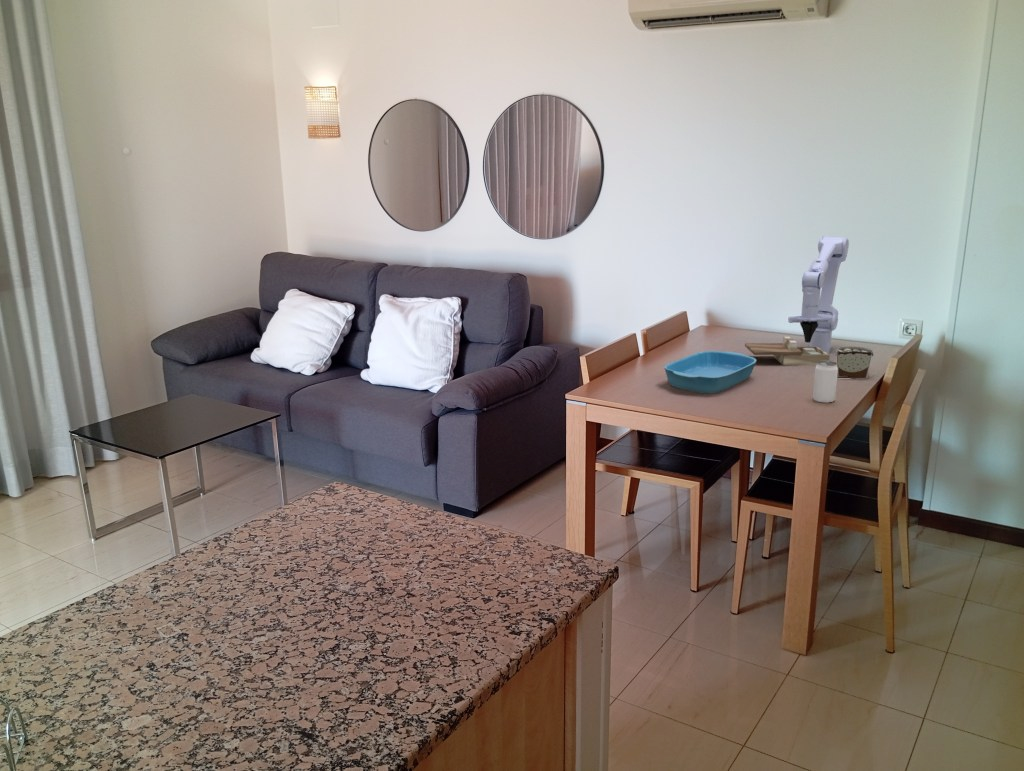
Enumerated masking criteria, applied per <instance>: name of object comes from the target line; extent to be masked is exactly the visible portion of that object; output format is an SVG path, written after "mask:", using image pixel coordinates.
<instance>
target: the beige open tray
mask: <svg viewBox="0 0 1024 771" xmlns="http://www.w3.org/2000/svg"><path fill="white" fill-rule="evenodd" d="M797 348H798V349H799V350H801V351H802V353H803V348H814V349H815V350H816V352H818V353H821V354H817V355H772V356H773V358H774V359H775V360H776V361H777V362H779V363H780V364H781V365H782V366H817V364H818V363H817V362H819V361H830V354H829V353H826V352H824V351H823V350H822V349H820V348H819V347H808V346H797Z"/></svg>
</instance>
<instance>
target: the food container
mask: <svg viewBox="0 0 1024 771" xmlns="http://www.w3.org/2000/svg"><path fill="white" fill-rule="evenodd" d="M834 355H835V357H836V363H837V368H838V373H837V377H838V378H852V380H854V379H853V378H858V379H859V380H867V378H868V374H869V370H870V364H871V361H872V360H871V359H872V357H874V352H873V349H871V348H867V347H861V346H852V345H851V346H848V345H847V346H839V347H837V349H836V351H835V354H834ZM838 378H837V379H838ZM858 379H857V380H858Z"/></svg>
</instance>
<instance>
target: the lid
mask: <svg viewBox="0 0 1024 771" xmlns="http://www.w3.org/2000/svg"><path fill="white" fill-rule="evenodd" d="M782 339H783V341H782V342H778V343H776V342H775V343H774V342H773V343H772V342H765V343H763V342H761V343H756V342H755V343H753V342H752V343H749V342H748V343H744V347H745V348H746V349H747V350H748V351H749V352H750V353H751V354H753V355H754V356H773V355H802V351H801V350H799V349H798V348H797V347H798V342H797V341H796V340H795V339H793V338H792V337H790V336H783V338H782Z"/></svg>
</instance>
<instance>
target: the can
mask: <svg viewBox="0 0 1024 771" xmlns="http://www.w3.org/2000/svg"><path fill="white" fill-rule="evenodd" d="M817 363H818V364H817V365H815V369H814V378H813V380H814V381H813V389H812V390H813V391H812V400H813V401H815V402H818V403H820V402H822V404H830V403H829V402H832V403H834V402H835V400H836V394H837V393H836V392H837V381H838V378H837V377H838V376H837V373H838V368H837V362H835V361H832V360H829V361H819V362H817ZM833 401H834V402H833Z"/></svg>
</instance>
